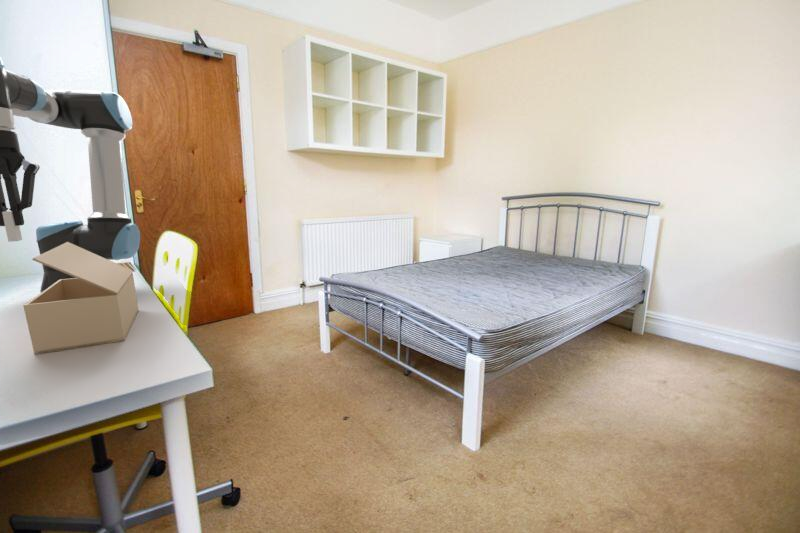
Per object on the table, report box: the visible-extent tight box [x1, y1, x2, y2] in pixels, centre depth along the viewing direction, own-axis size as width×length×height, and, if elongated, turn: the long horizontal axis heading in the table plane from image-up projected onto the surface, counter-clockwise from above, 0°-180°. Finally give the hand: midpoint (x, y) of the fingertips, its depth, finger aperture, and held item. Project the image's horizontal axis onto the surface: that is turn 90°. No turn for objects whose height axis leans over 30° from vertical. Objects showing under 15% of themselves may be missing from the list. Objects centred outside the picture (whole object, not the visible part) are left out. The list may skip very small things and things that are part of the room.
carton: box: [22, 272, 139, 355], centre depth 96 cm, size 24×16×11 cm, turn 27°
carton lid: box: [31, 242, 134, 294], centre depth 95 cm, size 24×16×1 cm
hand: (15, 240), depth 87 cm, fingers closed
